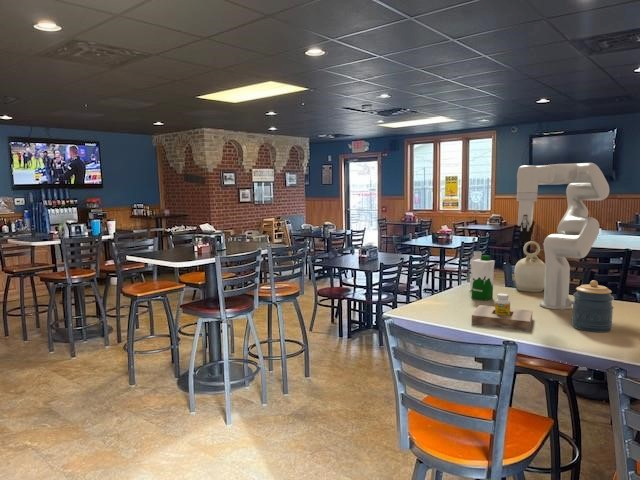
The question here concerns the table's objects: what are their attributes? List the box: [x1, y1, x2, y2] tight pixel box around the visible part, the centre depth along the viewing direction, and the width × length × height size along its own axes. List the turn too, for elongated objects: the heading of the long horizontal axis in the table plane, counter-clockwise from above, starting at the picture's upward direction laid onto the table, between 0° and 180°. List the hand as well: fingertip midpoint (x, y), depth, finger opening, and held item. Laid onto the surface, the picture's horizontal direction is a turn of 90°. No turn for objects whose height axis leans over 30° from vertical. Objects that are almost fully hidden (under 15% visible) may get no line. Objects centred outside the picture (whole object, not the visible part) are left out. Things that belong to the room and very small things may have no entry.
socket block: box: [471, 304, 534, 332], centre depth 181 cm, size 20×18×4 cm
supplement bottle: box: [494, 293, 511, 316], centre depth 181 cm, size 5×5×10 cm
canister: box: [571, 279, 615, 333], centre depth 173 cm, size 13×13×18 cm
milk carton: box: [470, 254, 496, 301], centre depth 221 cm, size 9×9×20 cm
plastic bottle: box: [469, 250, 483, 291], centre depth 238 cm, size 6×7×20 cm
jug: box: [513, 240, 545, 293], centre depth 241 cm, size 15×16×25 cm
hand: (525, 240), depth 188 cm, fingers open, 9 cm apart
